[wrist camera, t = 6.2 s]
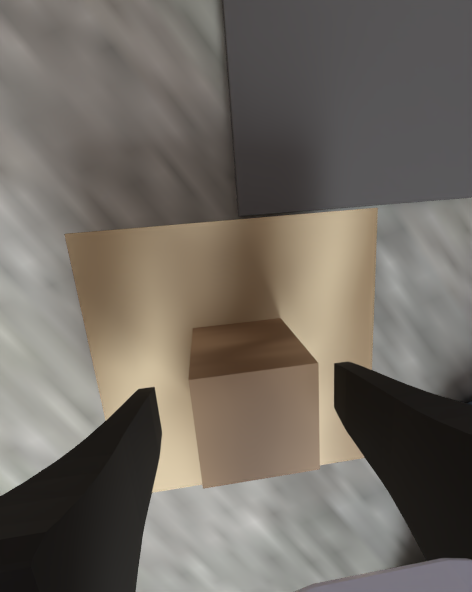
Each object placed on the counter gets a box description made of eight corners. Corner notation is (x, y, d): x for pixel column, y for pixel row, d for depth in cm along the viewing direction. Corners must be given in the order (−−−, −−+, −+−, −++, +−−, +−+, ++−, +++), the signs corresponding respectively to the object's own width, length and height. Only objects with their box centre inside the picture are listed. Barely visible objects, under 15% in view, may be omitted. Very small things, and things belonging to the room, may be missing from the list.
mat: (498, -101, 14) (508, -113, 14) (466, 197, 18) (473, 197, 17) (214, -107, 13) (214, -119, 13) (238, 216, 17) (239, 216, 16)
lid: (369, 208, 13) (469, 199, 8) (362, 449, 16) (431, 544, 12) (71, 233, 12) (-18, 240, 7) (125, 487, 15) (89, 611, 10)
